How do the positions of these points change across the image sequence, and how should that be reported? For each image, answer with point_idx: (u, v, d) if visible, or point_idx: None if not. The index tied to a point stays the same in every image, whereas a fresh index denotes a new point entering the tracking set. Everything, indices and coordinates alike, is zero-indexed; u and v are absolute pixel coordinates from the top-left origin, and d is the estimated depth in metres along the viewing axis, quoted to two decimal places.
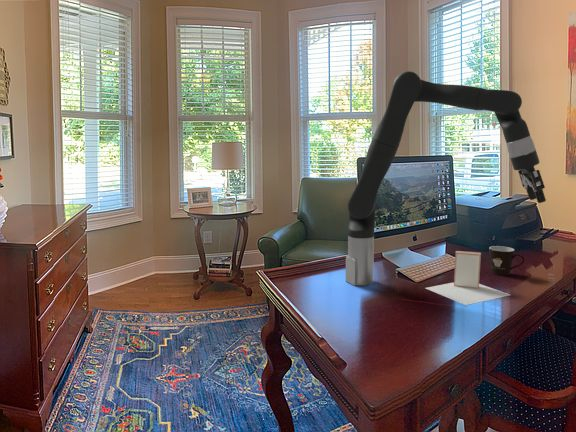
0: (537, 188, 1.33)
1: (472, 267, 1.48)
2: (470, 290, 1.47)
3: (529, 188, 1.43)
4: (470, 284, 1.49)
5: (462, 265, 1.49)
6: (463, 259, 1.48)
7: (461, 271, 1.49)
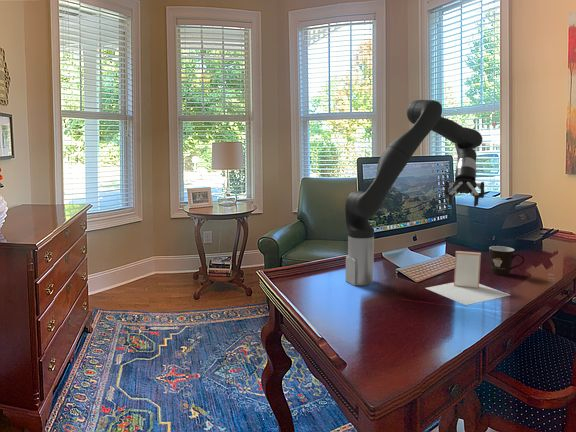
0: (483, 193, 1.61)
1: (472, 267, 1.48)
2: (470, 290, 1.47)
3: (452, 196, 1.65)
4: (470, 284, 1.49)
5: (462, 265, 1.49)
6: (463, 259, 1.48)
7: (461, 271, 1.49)
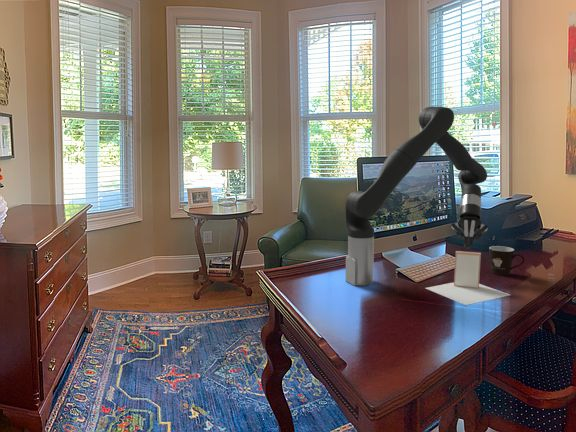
0: None
1: (472, 267, 1.48)
2: (470, 290, 1.47)
3: None
4: (470, 284, 1.49)
5: (462, 265, 1.49)
6: (463, 259, 1.48)
7: (461, 271, 1.49)
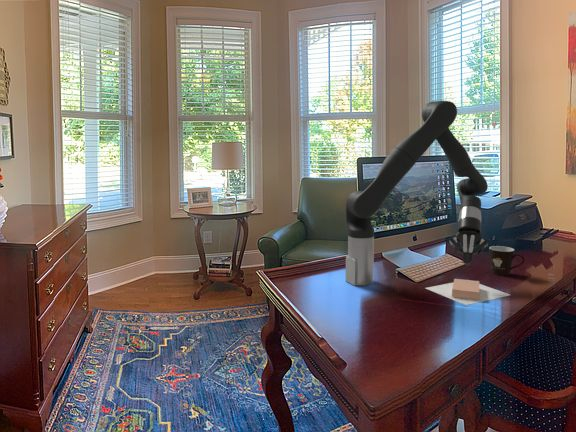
0: (478, 250, 1.47)
1: None
2: None
3: None
4: None
5: None
6: None
7: None
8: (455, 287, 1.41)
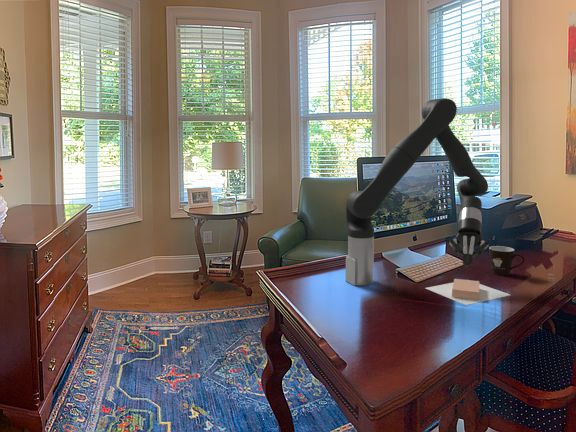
0: None
1: None
2: None
3: None
4: None
5: None
6: None
7: None
8: (455, 287, 1.41)
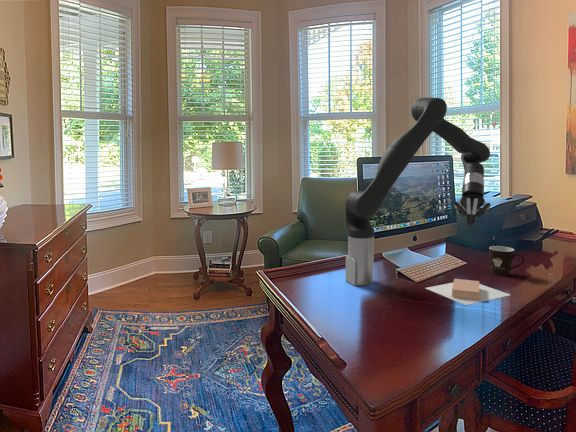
0: (480, 212, 1.56)
1: None
2: None
3: None
4: None
5: None
6: None
7: None
8: (455, 287, 1.41)
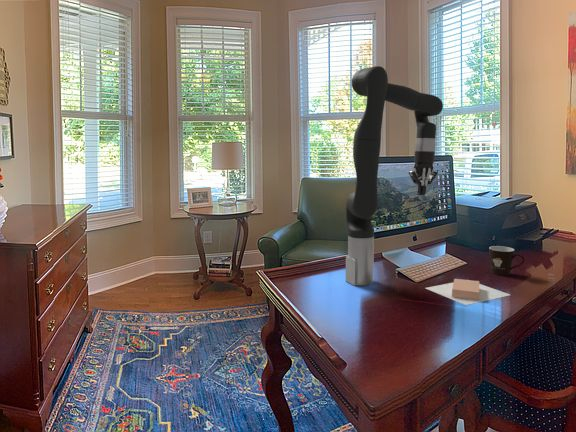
0: None
1: None
2: None
3: None
4: None
5: None
6: None
7: None
8: (455, 287, 1.41)
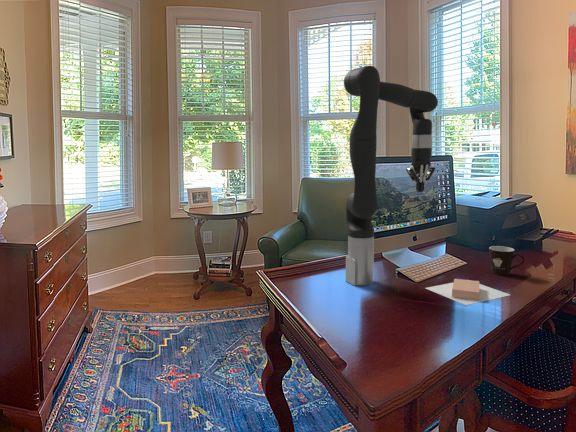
0: None
1: None
2: None
3: None
4: None
5: None
6: None
7: None
8: (455, 287, 1.41)
